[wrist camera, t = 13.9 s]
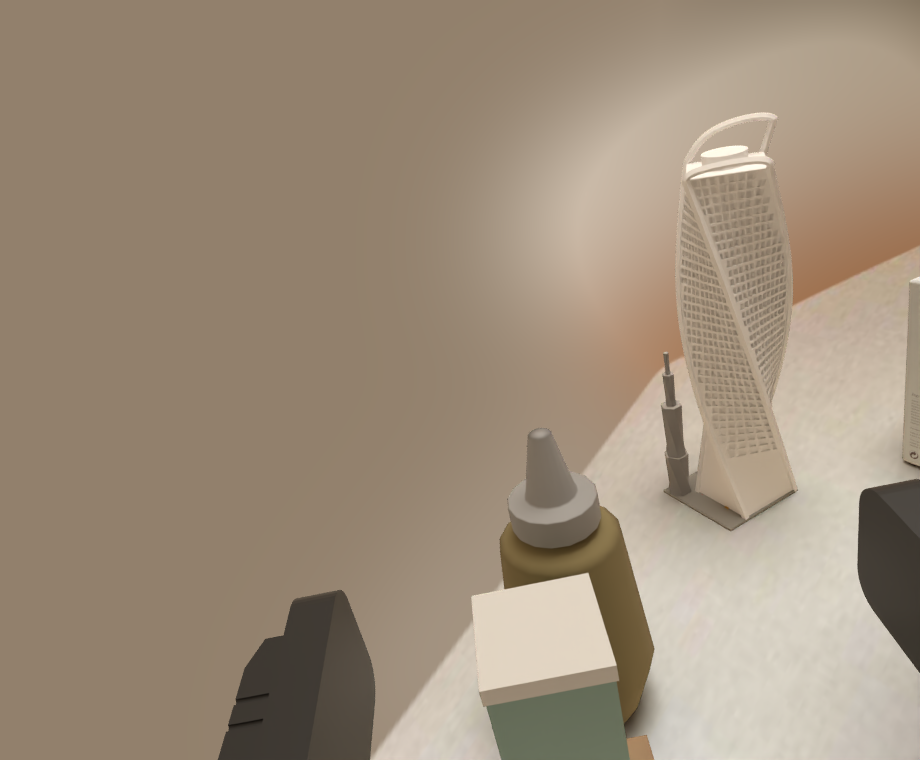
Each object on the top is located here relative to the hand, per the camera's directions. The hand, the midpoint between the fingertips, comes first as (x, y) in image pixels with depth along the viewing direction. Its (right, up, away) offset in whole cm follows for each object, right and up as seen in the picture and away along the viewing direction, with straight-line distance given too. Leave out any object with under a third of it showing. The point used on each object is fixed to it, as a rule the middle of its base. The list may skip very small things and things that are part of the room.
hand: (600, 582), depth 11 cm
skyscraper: (+20, -6, +46) cm, 50 cm away
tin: (+3, -17, +23) cm, 28 cm away
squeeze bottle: (+6, -16, +32) cm, 36 cm away
